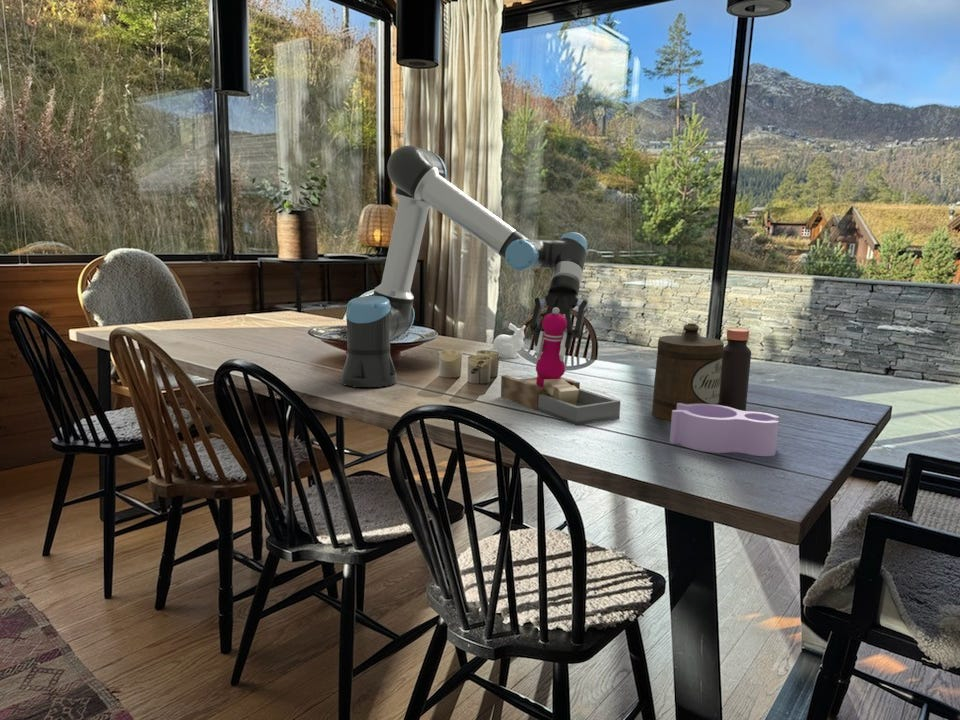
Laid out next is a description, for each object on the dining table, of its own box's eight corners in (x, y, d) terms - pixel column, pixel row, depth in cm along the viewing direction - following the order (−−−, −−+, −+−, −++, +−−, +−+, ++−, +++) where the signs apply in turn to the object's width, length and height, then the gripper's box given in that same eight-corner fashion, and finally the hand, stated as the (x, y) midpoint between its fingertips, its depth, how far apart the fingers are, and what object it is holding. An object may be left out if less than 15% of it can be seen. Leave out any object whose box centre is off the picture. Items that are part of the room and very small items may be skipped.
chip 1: (542, 389, 165) (544, 379, 164) (560, 388, 167) (562, 378, 166) (552, 396, 160) (553, 386, 160) (570, 395, 162) (572, 385, 161)
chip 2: (555, 386, 159) (561, 391, 157) (573, 385, 161) (579, 389, 159) (551, 405, 161) (557, 410, 159) (569, 403, 163) (575, 408, 161)
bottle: (747, 410, 166) (755, 329, 162) (742, 416, 160) (750, 332, 156) (719, 406, 169) (726, 327, 165) (713, 412, 163) (720, 330, 160)
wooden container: (710, 427, 150) (719, 329, 146) (644, 417, 157) (650, 324, 153) (722, 413, 163) (730, 322, 159) (661, 404, 170) (667, 317, 166)
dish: (538, 410, 161) (538, 394, 161) (579, 404, 168) (580, 388, 167) (576, 425, 150) (576, 407, 149) (619, 417, 157) (620, 401, 156)
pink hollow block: (776, 444, 140) (779, 412, 138) (774, 462, 129) (778, 427, 127) (676, 431, 148) (679, 400, 147) (667, 446, 137) (669, 413, 135)
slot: (500, 396, 175) (501, 375, 174) (541, 391, 181) (541, 371, 180) (537, 410, 162) (537, 388, 161) (578, 404, 169) (579, 382, 168)
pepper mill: (562, 381, 172) (570, 304, 165) (563, 391, 165) (572, 312, 159) (534, 378, 172) (540, 302, 166) (534, 389, 166) (541, 310, 159)
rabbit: (520, 354, 235) (521, 320, 233) (529, 359, 226) (530, 323, 224) (487, 355, 232) (487, 320, 230) (494, 360, 224) (495, 324, 221)
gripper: (601, 294, 174) (588, 368, 162) (533, 291, 180) (515, 362, 167) (599, 275, 168) (586, 350, 156) (529, 272, 174) (510, 345, 161)
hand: (549, 356), depth 162 cm, fingers closed on pepper mill, 5 cm apart
